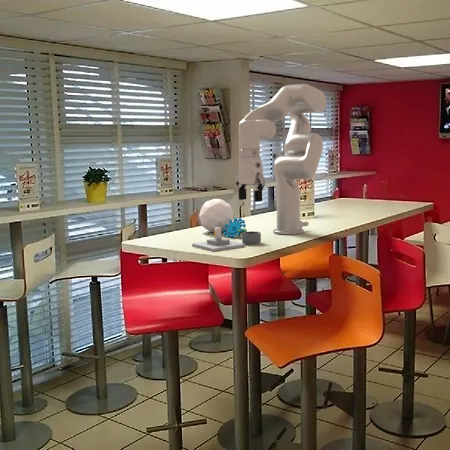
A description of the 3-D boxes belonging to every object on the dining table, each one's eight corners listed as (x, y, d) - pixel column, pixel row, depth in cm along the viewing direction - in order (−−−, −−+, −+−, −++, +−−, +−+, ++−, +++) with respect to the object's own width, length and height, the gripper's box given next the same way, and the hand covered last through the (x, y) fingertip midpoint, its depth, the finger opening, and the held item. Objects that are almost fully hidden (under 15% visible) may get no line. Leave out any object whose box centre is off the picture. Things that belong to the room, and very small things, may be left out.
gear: (217, 233, 239) (231, 214, 242) (224, 241, 243) (237, 222, 246) (236, 239, 231) (250, 220, 234) (243, 248, 235) (257, 229, 238)
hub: (253, 241, 227) (252, 230, 227) (264, 243, 222) (264, 232, 221) (238, 243, 223) (238, 232, 223) (249, 245, 218) (249, 234, 217)
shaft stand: (223, 241, 227) (222, 223, 226) (245, 246, 216) (244, 227, 215) (192, 246, 219) (191, 227, 218) (213, 251, 208) (212, 231, 207)
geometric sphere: (223, 245, 250) (227, 219, 239) (191, 231, 253) (194, 206, 243) (237, 224, 259) (241, 199, 249) (206, 212, 263) (209, 186, 252)
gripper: (272, 153, 213) (273, 201, 215) (243, 153, 227) (244, 198, 229) (255, 154, 209) (256, 203, 211) (227, 154, 223) (228, 199, 225)
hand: (250, 200), depth 220 cm, fingers open, 9 cm apart
